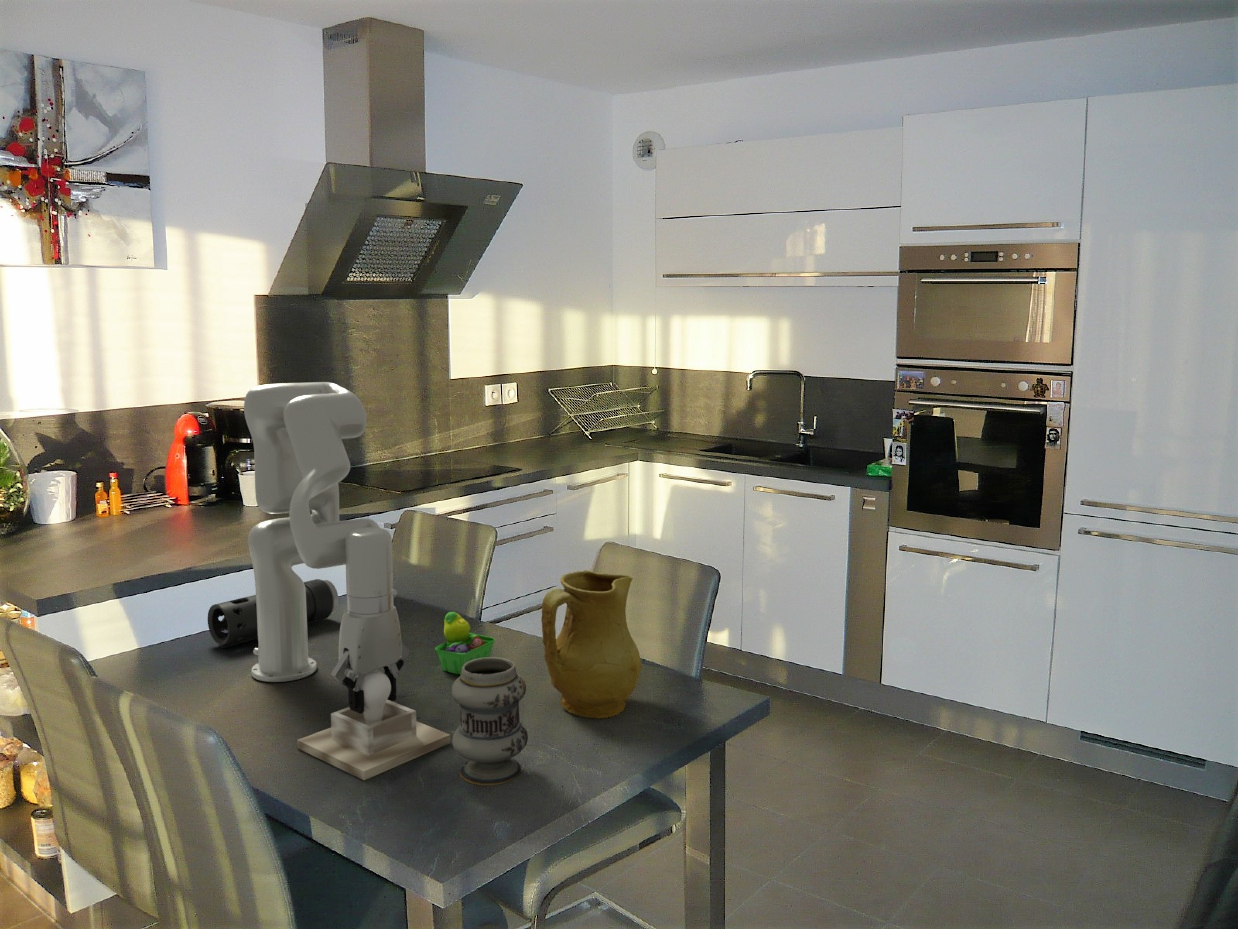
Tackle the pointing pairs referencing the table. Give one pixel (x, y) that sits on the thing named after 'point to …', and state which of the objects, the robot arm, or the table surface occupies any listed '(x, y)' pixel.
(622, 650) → the pitcher
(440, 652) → the fruit basket
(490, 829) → the table surface
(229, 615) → the muzzle brake
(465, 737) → the apothecary jar
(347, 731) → the socket
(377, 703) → the lightbulb
